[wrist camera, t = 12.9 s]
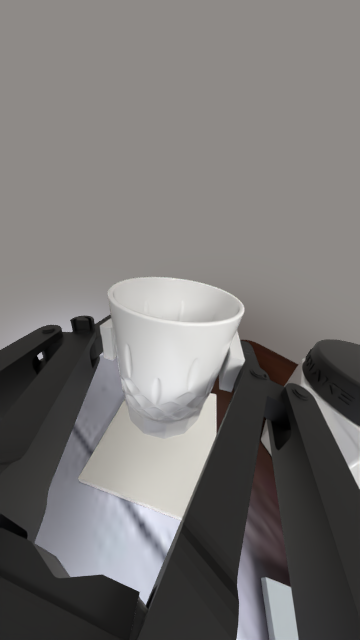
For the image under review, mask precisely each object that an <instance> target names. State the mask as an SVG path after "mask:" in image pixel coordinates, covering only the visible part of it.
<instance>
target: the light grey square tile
mask: <svg viewBox="0 0 360 640" xmlns="http://www.w3.org/2000/svg"><path fill="white" fill-rule="evenodd" d="M261 582H262V590H263V597H264V604H265V612H266V619H267V626H268V633H269V640H299V639H298V632H297V625H296V618H295V611H294V604H293V598H292V591H291V587H289V586H286V585H284V584H281V583H279V582H277V581H274V580H272V579H269V578H267V577H264V578H261Z"/></svg>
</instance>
